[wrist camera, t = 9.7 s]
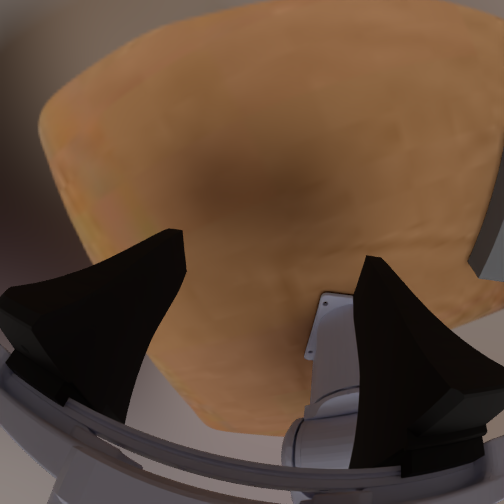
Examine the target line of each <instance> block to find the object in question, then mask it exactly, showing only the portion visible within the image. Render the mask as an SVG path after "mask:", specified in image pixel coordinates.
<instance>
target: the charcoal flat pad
mask: <svg viewBox="0 0 504 504" xmlns="http://www.w3.org/2000/svg"><path fill="white" fill-rule="evenodd" d="M468 263H469V264H470V266H471V267H472V269H473V271H474V272H475V274H476V275H477V277H478V278H479V279H487V280H494V281H501V282H504V148H503V154H502V158H501V163H500V167H499V172H498V176H497V180H496V183H495V187H494V191H493V194H492V197H491V201H490V204H489V207H488V210H487V213H486V216H485V219H484V222H483V225H482V227H481V230H480V233H479V235H478V238H477V241H476V243H475V246H474V248H473V250H472V253H471V255H470V257H469V260H468Z"/></svg>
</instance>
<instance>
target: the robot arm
mask: <svg viewBox="0 0 504 504" xmlns="http://www.w3.org/2000/svg"><path fill="white" fill-rule="evenodd" d="M186 272H187V270H186V261H185V252H184V242H183V231H182V230H177V229H166V230H164V231H161V232H159V233H157V234H155V235H153V236H151V237H149V238H147V239H146V240H144V241H142V242H140V243H138V244H136V245H134V246H132V247H130V248H129V249H127V250H125V251H122V252H120V253H118V254H116V255H114V256H112V257H110V258H109V259H106V260H104V261H102V262H100V263H97V264H95V265H92V266H90V267H88V268H85V269H82V270H80V271H77V272H73V273H70V274H67V275H65V276H61V277H58V278H54V279H51V280H46V281H42V282H38V283H33V284H27V285H21V286H13V287H10V288H8V289H7V290H6V291H5V292H4V293H3V294H2V295H1V297H0V328H1V330H2V331H3V333H4V334H5V336H6V337H7V339H8V340H9V342H10V343H11V344H12V346H13V347H14V349H15V350H14V351H13V352H12V354H10V352H8V350H7V349H6V348H4V347H3V346H2V345H1V344H0V426H1V427H2V428H3V429H4V431H5V432H6V433H7V434H8V435H9V436H10V437H11V438H12V439H13V440H14V441H15V442H16V443H17V444H18V445H19V446H20V447H21V448H22V449H23V450H24V451H25V452H26V453H27V454H28V455H29V456H30V457H31V458H32V459H33V460H34V461H36V462H37V463H38V464H39V465H40V466H41V467H42V468H43V469H45V470H46V471H47V472H48V473H49V474H51V475H52V476H53V477H54V478H56V479H57V480H56V482H55V484H54V487H53V490H52V493H51V495H50V497H49V500H48V502H47V504H278V503H271V502H264V501H257V500H251V499H246V498H240V497H235V496H230V495H226V494H221V493H217V492H213V491H209V490H205V489H201V488H197V487H194V486H190V485H187V484H184V483H180V482H177V481H174V480H171V479H168V478H165V477H162V476H159V475H156V474H153V473H151V472H148V471H145V470H143V467H142V466H141V465H140V464H138V463H137V462H135V461H133V460H131V459H130V458H128V457H127V456H125V455H124V454H123V453H122V452H121V451H120V450H119V449H118V448H116V447H114V446H112V445H111V444H109V443H107V442H105V441H103V440H102V439H100V438H98V437H97V436H99V437H101V438H103V439H105V440H107V441H109V442H111V443H113V444H115V445H117V446H120V447H122V448H124V449H126V450H129V451H131V452H133V453H136V454H138V455H141V456H143V457H146V458H148V459H151V460H154V461H156V462H159V463H162V464H165V465H168V466H171V467H174V468H177V469H180V470H183V471H187V472H190V473H194V474H197V475H201V476H205V477H209V478H213V479H217V480H222V481H226V482H231V483H236V484H242V485H248V486H254V487H260V488H268V489H277V490H287V491H290V492H291V498H292V501H293V504H496V503H498V502H500V501H502V500H503V499H504V435H503V436H500V437H497V438H494V439H492V440H489V441H487V442H485V443H483V439H482V436H484V435H485V434H486V433H487V428H486V423H488V422H489V421H490V420H492V419H493V418H494V417H495V416H497V415H498V414H499V413H500V412H501V411H503V410H504V367H503V366H502V365H500V364H498V363H496V362H495V361H493V360H491V359H489V358H488V357H486V356H485V355H483V354H482V353H480V352H479V351H477V350H476V349H474V348H473V347H472V346H470V345H469V344H467V343H466V342H465V341H464V340H462V339H461V338H460V337H458V336H457V335H456V334H455V333H453V332H452V331H451V330H450V329H449V328H448V327H447V326H445V325H444V324H443V323H442V322H441V321H440V320H439V319H438V318H437V317H436V316H435V315H434V314H433V313H431V312H430V311H429V310H428V309H427V307H426V306H425V305H424V304H423V303H422V302H421V301H420V300H419V299H418V298H417V297H416V296H415V295H414V294H413V292H412V291H411V290H410V289H409V288H408V287H407V286H406V285H405V283H404V282H403V281H402V280H401V279H400V278H399V277H398V275H397V274H396V273H395V272H394V271H393V270H392V268H391V267H390V266H389V265H388V264H387V263H386V262H385V261H384V260H383V259H382V258H381V257H374V256H367V255H366V258H365V262H364V265H363V268H362V271H361V274H360V277H359V280H358V283H357V286H356V289H355V292H354V295H353V296H351V295H342V294H334V293H323V294H322V295H321V298H320V302H319V305H318V309H317V313H316V316H315V320H314V323H313V327H312V330H311V334H310V337H309V341H308V344H307V347H306V351H305V354H304V358H305V359H307V360H313V370H312V384H311V397H310V405H306V406H305V411H304V418H298V419H296V420H295V421H294V422H293V423H292V425H291V426H290V428H289V429H288V431H287V432H286V435H285V437H284V441H283V445H282V452H281V453H282V454H281V462H282V466H279V465H271V464H264V463H256V462H251V461H245V460H240V459H234V458H229V457H225V456H220V455H216V454H211V453H208V452H204V451H200V450H196V449H193V448H189V447H185V446H182V445H178V444H175V443H172V442H169V441H166V440H163V439H160V438H157V437H155V436H152V435H149V434H147V433H144V432H141V431H139V430H136V429H134V428H131V427H129V426H127V425H125V420H126V415H127V411H128V407H129V403H130V399H131V395H132V392H133V388H134V385H135V382H136V379H137V375H138V373H139V370H140V367H141V364H142V361H143V359H144V356H145V354H146V351H147V349H148V346H149V344H150V341H151V339H152V337H153V335H154V333H155V331H156V330H157V328H158V326H159V324H160V323H161V321H162V319H163V317H164V316H165V314H166V312H167V311H168V309H169V307H170V305H171V304H172V302H173V300H174V298H175V297H176V295H177V293H178V291H179V289H180V287H181V284H182V282H183V280H184V277H185V274H186ZM323 302H327V303H323ZM310 350H311V351H310ZM96 435H97V436H96Z"/></svg>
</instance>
